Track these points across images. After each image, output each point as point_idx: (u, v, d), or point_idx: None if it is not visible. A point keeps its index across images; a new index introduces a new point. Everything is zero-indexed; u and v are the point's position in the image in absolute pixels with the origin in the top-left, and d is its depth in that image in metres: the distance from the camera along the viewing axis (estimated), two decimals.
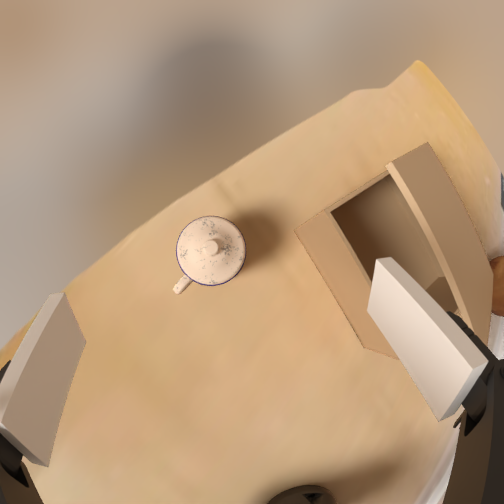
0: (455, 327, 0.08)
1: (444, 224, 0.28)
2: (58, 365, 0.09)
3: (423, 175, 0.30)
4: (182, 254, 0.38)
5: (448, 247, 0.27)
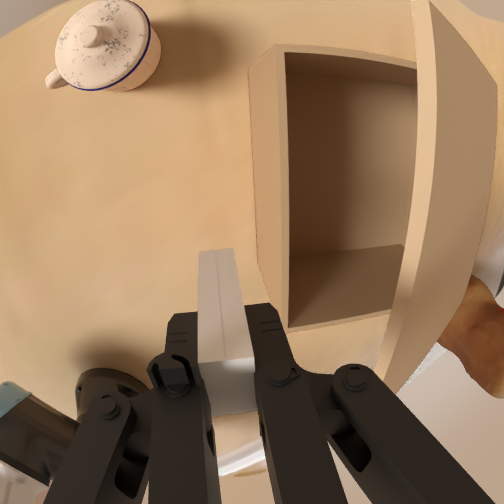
0: (245, 317, 0.09)
1: (458, 194, 0.13)
2: None
3: (473, 96, 0.12)
4: (62, 38, 0.17)
5: (439, 237, 0.13)
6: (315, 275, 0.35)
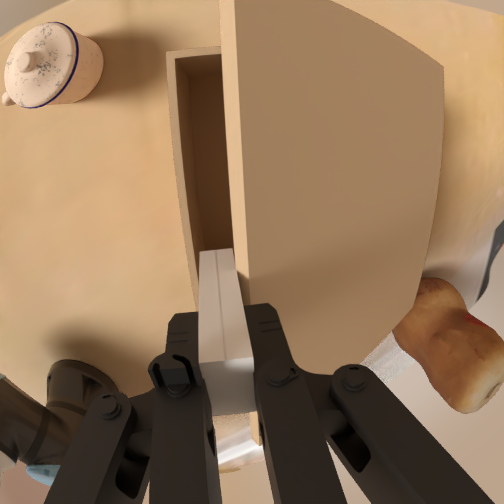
0: (245, 317, 0.09)
1: (339, 191, 0.13)
2: None
3: (367, 73, 0.12)
4: (8, 62, 0.17)
5: (300, 244, 0.13)
6: None
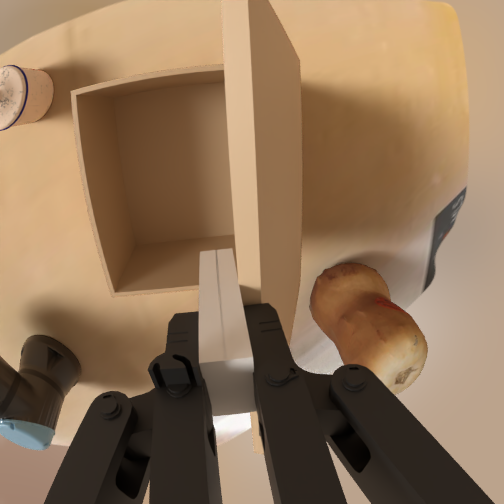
0: (244, 317, 0.09)
1: (280, 187, 0.14)
2: None
3: (283, 74, 0.14)
4: None
5: (273, 244, 0.13)
6: (164, 256, 0.41)
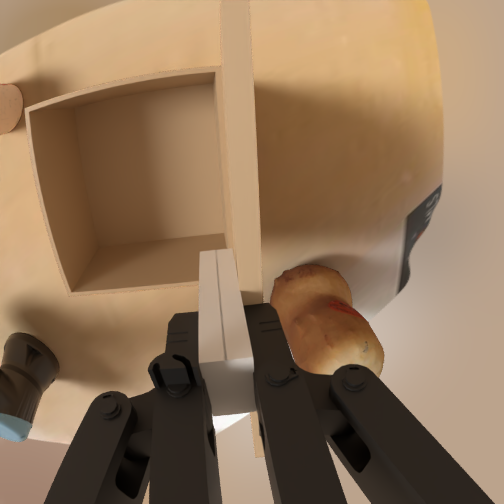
0: (244, 318, 0.09)
1: None
2: None
3: None
4: None
5: None
6: (121, 258, 0.41)
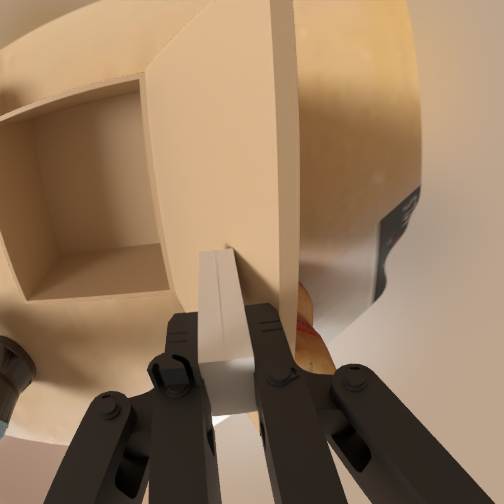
0: (245, 317, 0.09)
1: None
2: None
3: None
4: None
5: None
6: (77, 267, 0.40)
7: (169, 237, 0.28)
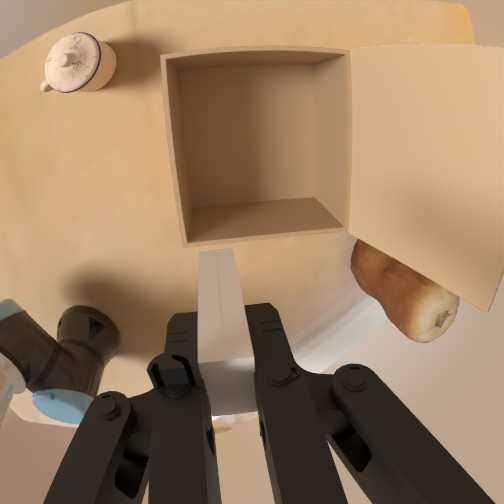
0: (245, 317, 0.09)
1: None
2: None
3: None
4: (48, 60, 0.28)
5: None
6: (226, 215, 0.46)
7: (367, 178, 0.34)
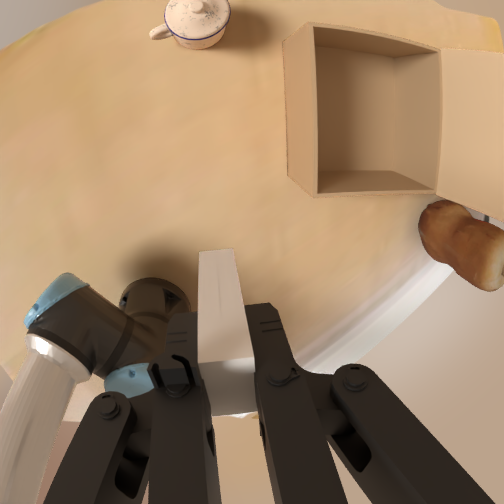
0: (245, 317, 0.09)
1: None
2: None
3: None
4: (171, 5, 0.29)
5: None
6: (331, 177, 0.48)
7: (455, 148, 0.36)
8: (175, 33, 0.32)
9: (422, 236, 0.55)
